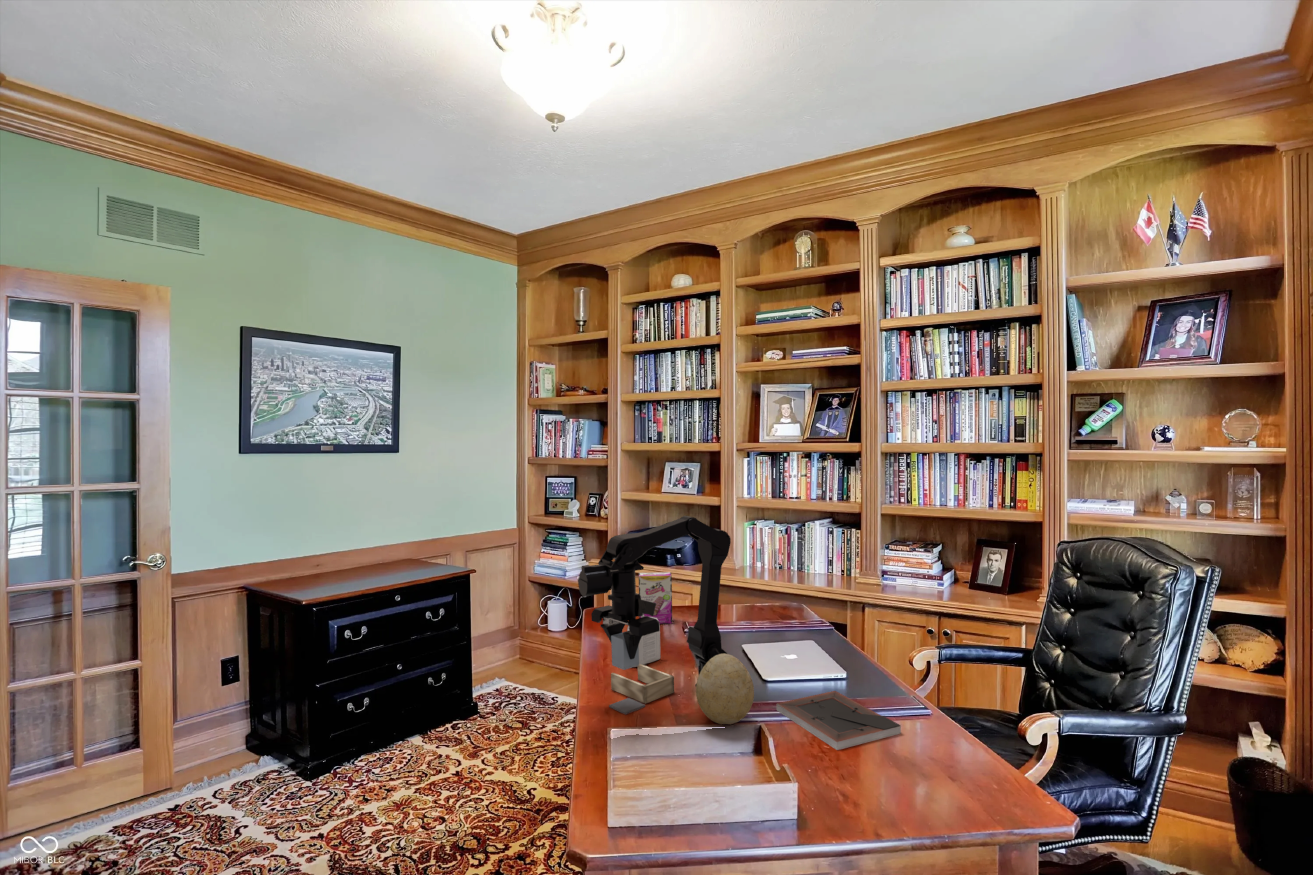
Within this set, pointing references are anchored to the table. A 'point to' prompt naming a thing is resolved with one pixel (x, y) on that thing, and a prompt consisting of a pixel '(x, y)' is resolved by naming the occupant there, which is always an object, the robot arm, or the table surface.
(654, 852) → the table surface
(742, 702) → the fossilized egg
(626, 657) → the slate block
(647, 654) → the white rounded slab
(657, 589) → the candy bar box
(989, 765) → the table surface
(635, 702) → the felt coaster
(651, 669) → the u-shaped bracket
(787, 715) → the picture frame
